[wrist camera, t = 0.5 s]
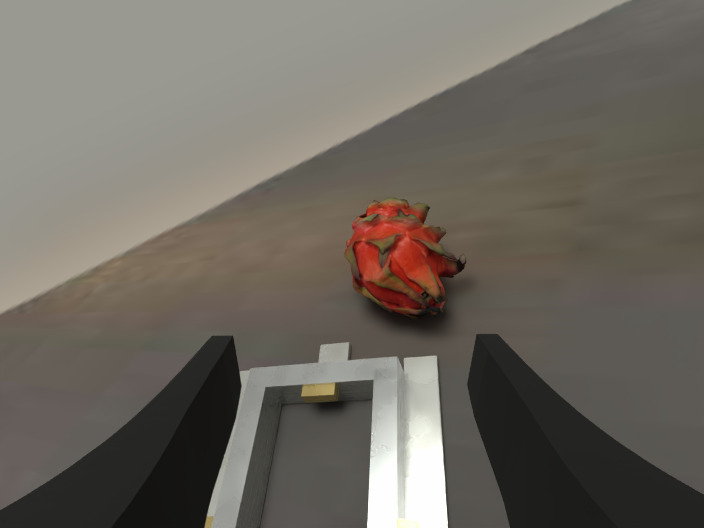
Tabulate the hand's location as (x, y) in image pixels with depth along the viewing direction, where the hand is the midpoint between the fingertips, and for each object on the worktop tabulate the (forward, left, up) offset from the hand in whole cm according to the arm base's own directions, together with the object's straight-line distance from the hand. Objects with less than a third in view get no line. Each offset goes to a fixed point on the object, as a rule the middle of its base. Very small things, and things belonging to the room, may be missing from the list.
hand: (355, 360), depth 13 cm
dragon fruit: (+17, +2, -18) cm, 25 cm away
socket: (+3, +8, -18) cm, 20 cm away
